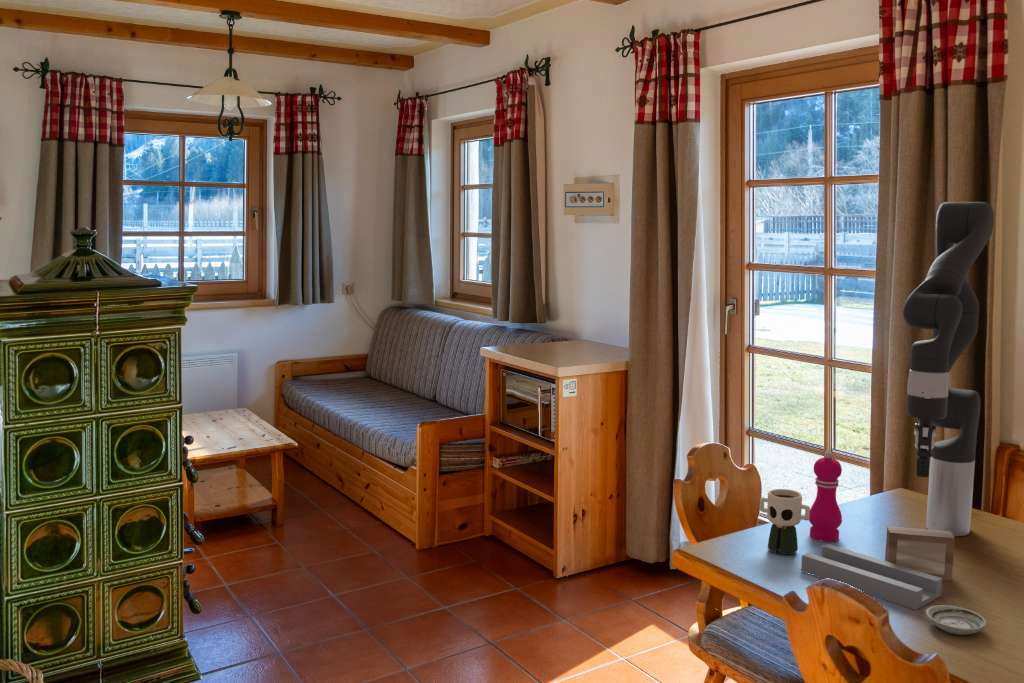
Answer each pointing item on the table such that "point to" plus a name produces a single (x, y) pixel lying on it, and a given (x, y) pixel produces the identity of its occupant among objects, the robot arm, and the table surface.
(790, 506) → the character mug
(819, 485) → the pepper mill
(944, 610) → the saucer
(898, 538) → the wooden framed block
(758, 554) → the table surface
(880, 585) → the picture ledge
